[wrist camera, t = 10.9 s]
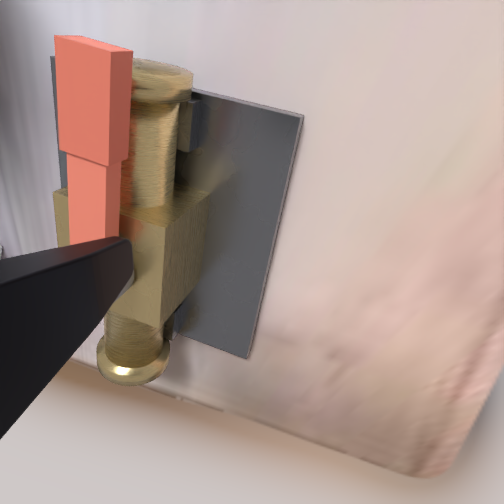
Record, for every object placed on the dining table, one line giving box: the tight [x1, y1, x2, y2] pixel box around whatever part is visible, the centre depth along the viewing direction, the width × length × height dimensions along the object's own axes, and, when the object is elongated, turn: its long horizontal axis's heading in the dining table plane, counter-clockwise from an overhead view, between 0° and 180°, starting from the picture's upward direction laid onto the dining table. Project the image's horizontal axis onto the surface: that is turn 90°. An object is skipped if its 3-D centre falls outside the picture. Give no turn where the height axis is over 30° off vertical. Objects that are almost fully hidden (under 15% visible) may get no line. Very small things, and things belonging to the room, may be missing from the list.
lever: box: [54, 35, 134, 302], centre depth 17 cm, size 12×3×2 cm, turn 168°
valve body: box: [50, 56, 304, 386], centre depth 22 cm, size 18×14×6 cm
